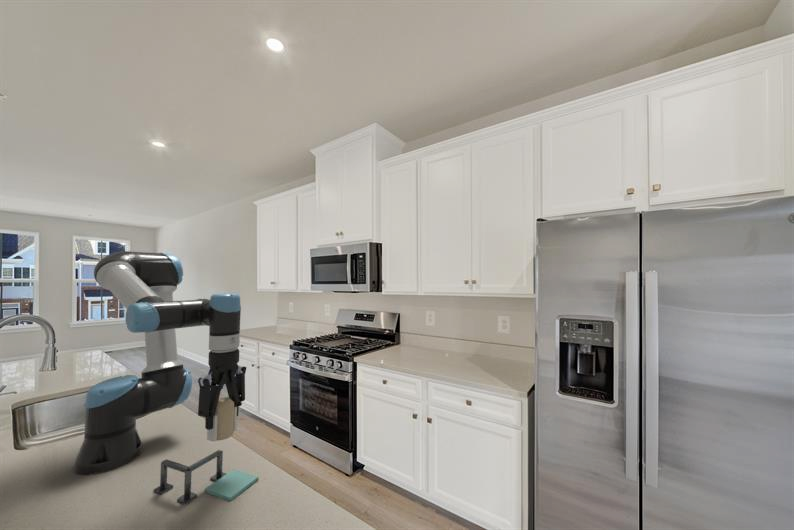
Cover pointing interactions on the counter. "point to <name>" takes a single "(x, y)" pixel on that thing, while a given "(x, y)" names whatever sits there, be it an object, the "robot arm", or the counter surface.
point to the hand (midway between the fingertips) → (222, 434)
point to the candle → (225, 418)
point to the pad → (231, 484)
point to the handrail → (188, 475)
